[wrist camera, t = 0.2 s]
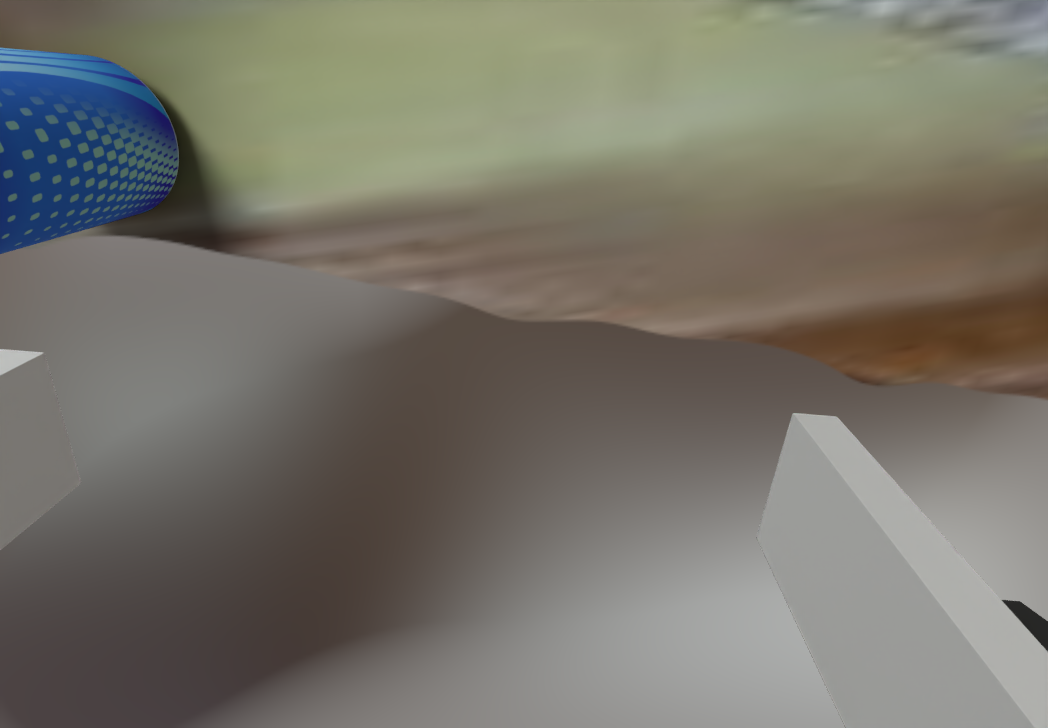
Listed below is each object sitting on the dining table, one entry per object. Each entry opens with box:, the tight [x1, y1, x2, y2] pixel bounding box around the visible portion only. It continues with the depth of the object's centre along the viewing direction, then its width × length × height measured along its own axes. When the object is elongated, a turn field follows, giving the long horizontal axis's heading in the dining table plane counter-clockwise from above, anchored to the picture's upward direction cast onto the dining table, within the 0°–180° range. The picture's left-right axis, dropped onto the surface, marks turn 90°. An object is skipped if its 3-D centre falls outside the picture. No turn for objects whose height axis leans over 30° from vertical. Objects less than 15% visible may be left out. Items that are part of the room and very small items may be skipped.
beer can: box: [0, 48, 179, 254], centre depth 27 cm, size 8×8×16 cm
